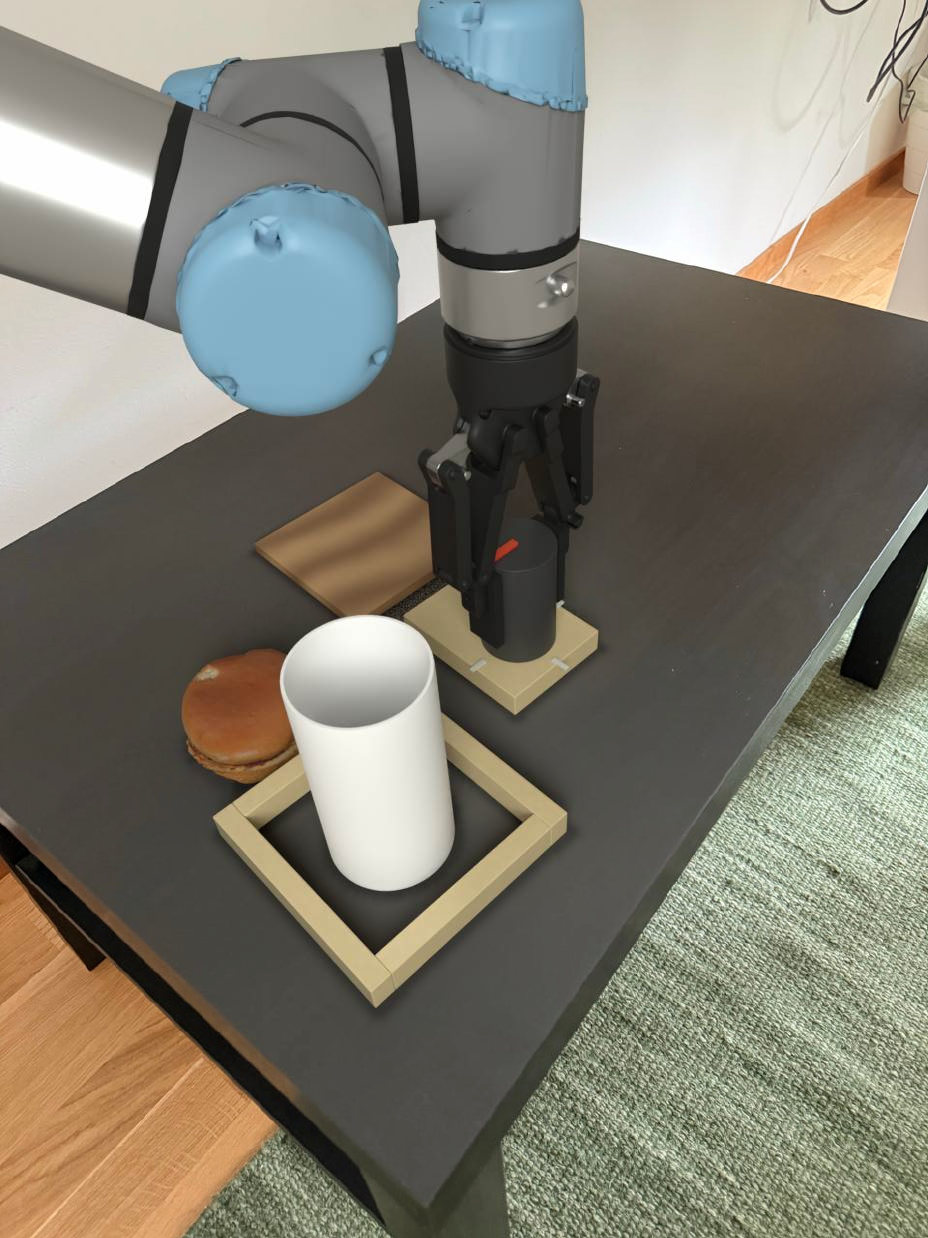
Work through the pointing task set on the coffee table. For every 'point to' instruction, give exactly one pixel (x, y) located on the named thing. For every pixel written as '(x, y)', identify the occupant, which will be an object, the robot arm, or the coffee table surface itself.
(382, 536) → the trivet
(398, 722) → the cup
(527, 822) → the square frame
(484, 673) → the panel
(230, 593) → the coffee table surface
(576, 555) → the coffee table surface
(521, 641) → the burner knob
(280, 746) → the burger
